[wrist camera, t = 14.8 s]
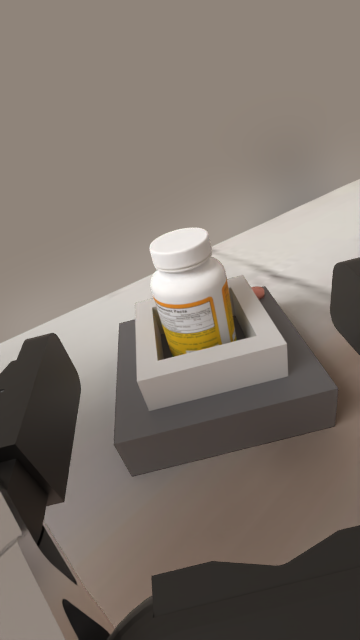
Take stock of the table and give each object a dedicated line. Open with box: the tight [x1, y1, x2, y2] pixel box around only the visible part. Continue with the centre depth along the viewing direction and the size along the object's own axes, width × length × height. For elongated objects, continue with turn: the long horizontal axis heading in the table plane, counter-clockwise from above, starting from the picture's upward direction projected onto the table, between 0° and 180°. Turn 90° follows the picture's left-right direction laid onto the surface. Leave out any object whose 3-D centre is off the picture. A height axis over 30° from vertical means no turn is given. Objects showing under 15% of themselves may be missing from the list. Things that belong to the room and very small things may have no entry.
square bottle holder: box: [114, 275, 338, 476], centre depth 27 cm, size 15×14×7 cm
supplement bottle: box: [150, 228, 237, 357], centre depth 24 cm, size 5×5×10 cm
